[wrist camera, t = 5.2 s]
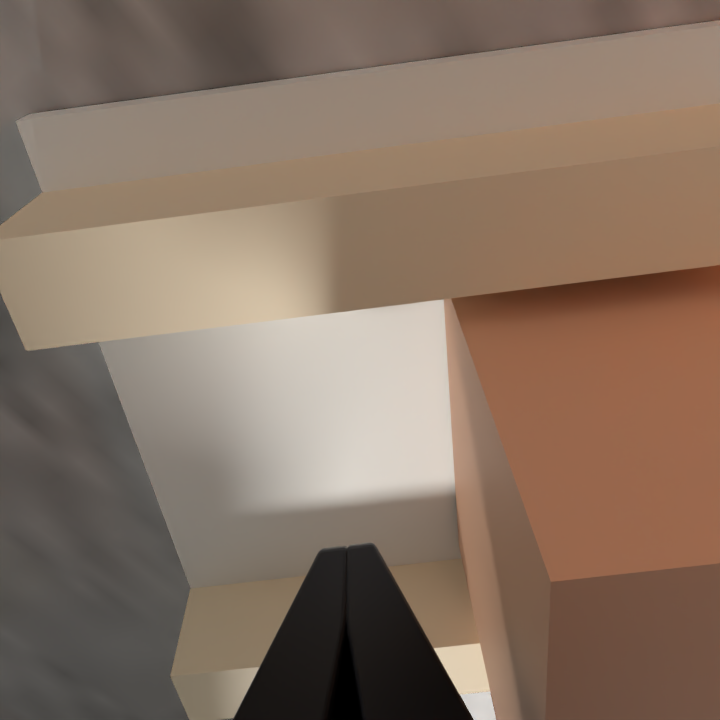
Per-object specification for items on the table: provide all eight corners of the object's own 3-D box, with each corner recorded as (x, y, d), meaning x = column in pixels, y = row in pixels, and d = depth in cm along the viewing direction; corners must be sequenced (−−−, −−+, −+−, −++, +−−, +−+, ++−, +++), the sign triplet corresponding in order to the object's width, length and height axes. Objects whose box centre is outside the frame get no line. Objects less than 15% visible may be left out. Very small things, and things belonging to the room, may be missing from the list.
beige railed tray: (220, 642, 16) (202, 750, 13) (29, 114, 9) (-60, 157, 7) (1000, 558, 15) (1111, 656, 13) (1337, -64, 9) (1658, -75, 7)
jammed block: (458, 545, 13) (537, 909, 8) (442, 273, 10) (550, 582, 5) (708, 517, 13) (947, 870, 8) (767, 232, 10) (1213, 508, 5)
